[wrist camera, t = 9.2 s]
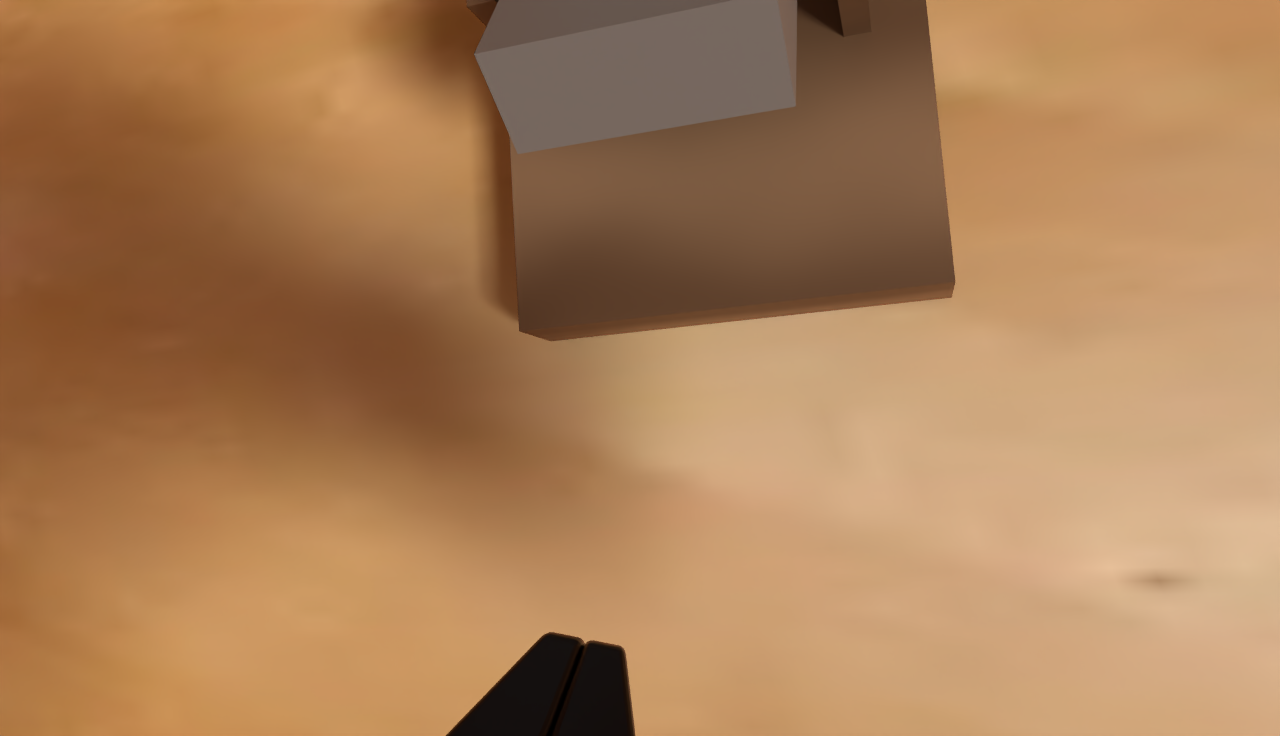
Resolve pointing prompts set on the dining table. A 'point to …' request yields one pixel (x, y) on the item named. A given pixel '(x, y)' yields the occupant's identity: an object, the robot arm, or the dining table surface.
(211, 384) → the dining table surface
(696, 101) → the lever
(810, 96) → the base
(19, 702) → the dining table surface
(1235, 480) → the dining table surface
